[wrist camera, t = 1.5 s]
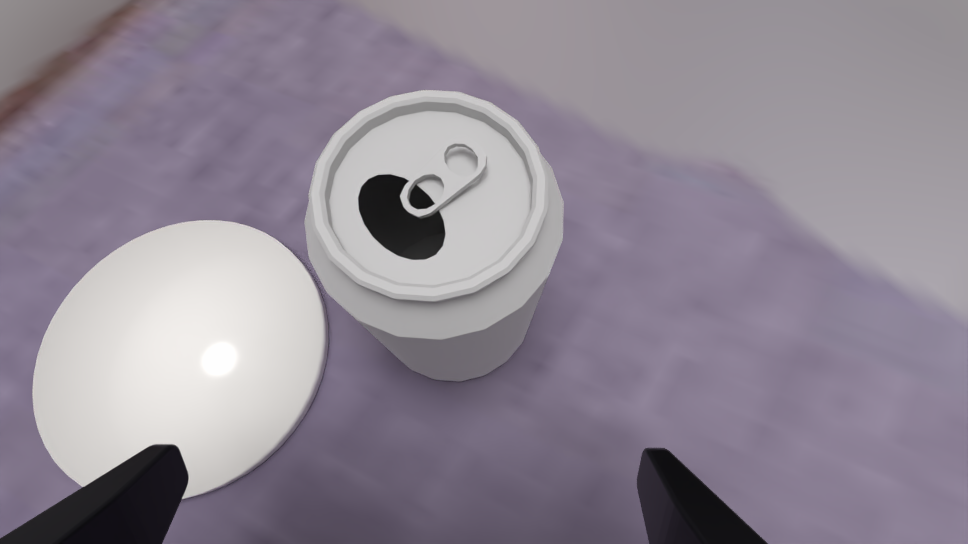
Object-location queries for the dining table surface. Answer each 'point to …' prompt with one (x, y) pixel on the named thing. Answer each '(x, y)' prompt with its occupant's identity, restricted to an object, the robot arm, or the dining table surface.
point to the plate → (182, 354)
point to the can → (436, 229)
